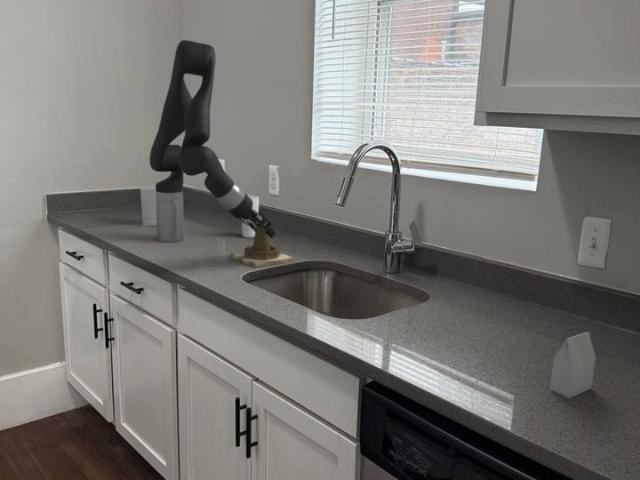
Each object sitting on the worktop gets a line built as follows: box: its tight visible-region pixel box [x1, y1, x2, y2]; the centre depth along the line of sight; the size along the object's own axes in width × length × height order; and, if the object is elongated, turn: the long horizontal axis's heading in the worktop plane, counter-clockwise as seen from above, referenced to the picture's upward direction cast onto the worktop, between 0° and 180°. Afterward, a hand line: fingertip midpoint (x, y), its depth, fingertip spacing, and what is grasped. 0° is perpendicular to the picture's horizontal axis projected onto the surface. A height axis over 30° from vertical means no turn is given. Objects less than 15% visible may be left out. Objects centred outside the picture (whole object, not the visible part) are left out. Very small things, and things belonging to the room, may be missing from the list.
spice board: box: [230, 244, 295, 269], centre depth 182 cm, size 15×14×4 cm
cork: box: [252, 222, 271, 252], centre depth 181 cm, size 6×6×11 cm
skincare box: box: [140, 186, 157, 227], centre depth 228 cm, size 8×6×15 cm
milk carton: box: [549, 331, 597, 399], centre depth 101 cm, size 4×7×10 cm, turn 125°
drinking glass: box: [240, 194, 260, 239], centre depth 213 cm, size 7×7×15 cm
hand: (266, 233), depth 182 cm, fingers open, 8 cm apart
